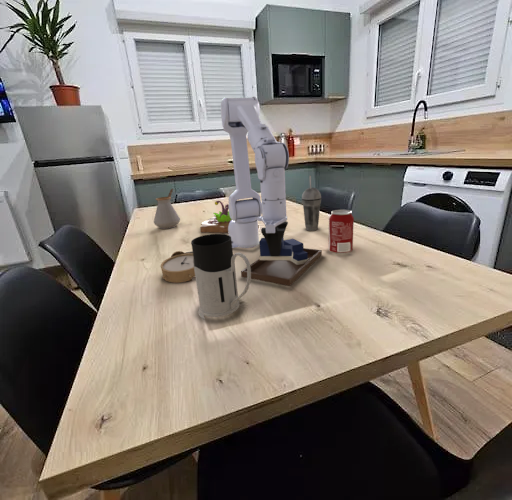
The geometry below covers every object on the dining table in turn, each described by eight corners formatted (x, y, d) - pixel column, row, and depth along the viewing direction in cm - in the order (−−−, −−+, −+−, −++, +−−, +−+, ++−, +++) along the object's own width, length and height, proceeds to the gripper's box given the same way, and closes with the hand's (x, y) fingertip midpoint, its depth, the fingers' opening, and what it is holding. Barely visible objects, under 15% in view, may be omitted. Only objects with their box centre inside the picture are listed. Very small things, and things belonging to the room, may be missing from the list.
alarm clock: (153, 273, 74) (172, 244, 87) (158, 289, 76) (175, 259, 89) (197, 271, 72) (209, 243, 85) (200, 288, 75) (212, 257, 88)
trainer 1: (259, 260, 73) (258, 241, 72) (262, 255, 76) (260, 237, 75) (292, 260, 72) (291, 241, 70) (293, 255, 75) (292, 237, 73)
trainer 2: (282, 256, 85) (282, 240, 83) (293, 253, 86) (292, 238, 84) (297, 265, 78) (297, 247, 76) (308, 262, 79) (308, 245, 77)
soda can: (353, 255, 83) (355, 214, 79) (328, 255, 85) (329, 214, 81) (351, 248, 89) (352, 208, 86) (328, 248, 91) (328, 209, 87)
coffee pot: (177, 229, 127) (171, 194, 122) (151, 230, 128) (144, 196, 123) (188, 217, 147) (184, 187, 143) (166, 219, 148) (160, 189, 143)
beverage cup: (324, 227, 113) (324, 173, 107) (317, 232, 108) (317, 176, 101) (306, 225, 117) (305, 174, 111) (298, 230, 112) (297, 176, 105)
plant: (209, 221, 136) (206, 197, 132) (251, 220, 133) (249, 195, 129) (195, 234, 117) (191, 206, 114) (243, 232, 114) (240, 203, 111)
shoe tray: (241, 279, 74) (240, 271, 73) (280, 252, 90) (279, 245, 90) (289, 289, 67) (289, 279, 66) (321, 257, 84) (321, 250, 83)
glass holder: (222, 295, 66) (215, 230, 62) (270, 315, 57) (265, 241, 52) (189, 311, 61) (178, 241, 56) (236, 337, 51) (227, 256, 46)
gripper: (262, 194, 77) (265, 244, 81) (250, 205, 63) (254, 264, 68) (289, 193, 75) (291, 243, 80) (283, 204, 62) (285, 264, 66)
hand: (276, 253), depth 74 cm, fingers closed on trainer 1, 3 cm apart
